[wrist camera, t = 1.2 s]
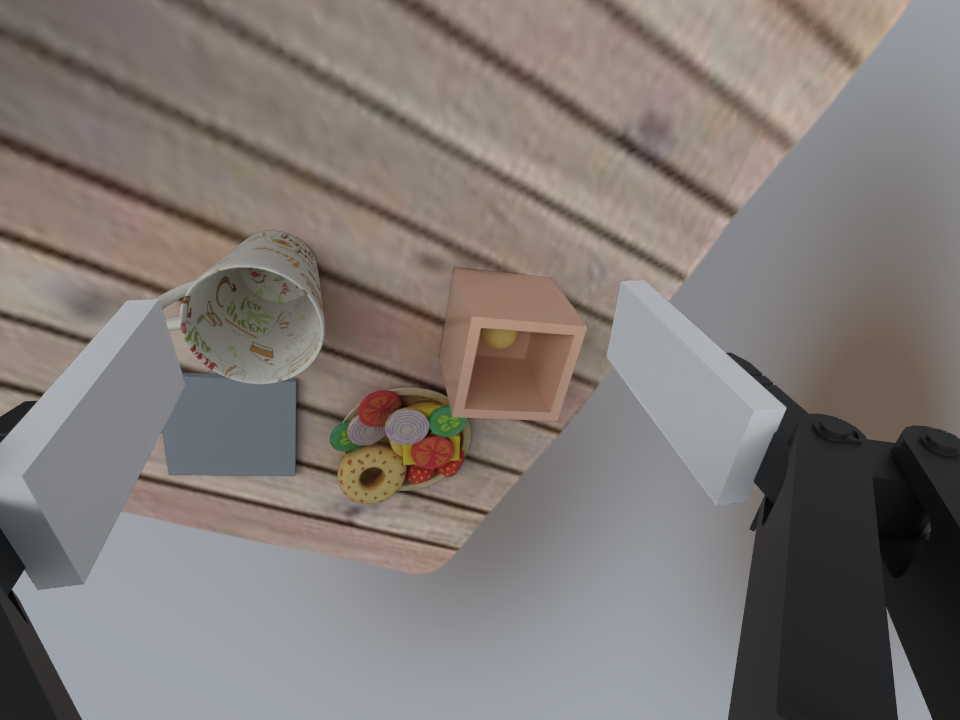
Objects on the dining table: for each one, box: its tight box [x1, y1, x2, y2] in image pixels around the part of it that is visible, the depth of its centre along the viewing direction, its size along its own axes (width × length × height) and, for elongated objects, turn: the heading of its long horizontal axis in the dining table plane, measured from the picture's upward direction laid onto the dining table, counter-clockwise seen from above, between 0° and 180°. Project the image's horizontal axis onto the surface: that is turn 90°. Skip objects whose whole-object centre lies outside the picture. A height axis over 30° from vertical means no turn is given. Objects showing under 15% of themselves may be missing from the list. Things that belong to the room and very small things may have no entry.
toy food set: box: [330, 387, 471, 504], centre depth 50 cm, size 13×13×3 cm
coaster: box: [162, 372, 297, 476], centre depth 47 cm, size 11×11×1 cm
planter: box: [439, 267, 588, 421], centre depth 43 cm, size 9×9×9 cm
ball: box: [481, 328, 518, 350], centre depth 44 cm, size 3×3×3 cm
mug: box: [155, 231, 325, 384], centre depth 36 cm, size 8×13×10 cm, turn 97°
